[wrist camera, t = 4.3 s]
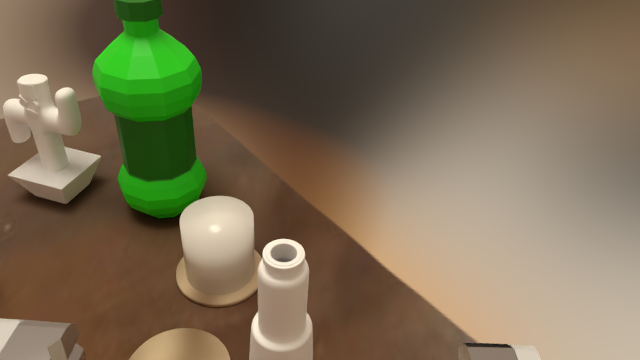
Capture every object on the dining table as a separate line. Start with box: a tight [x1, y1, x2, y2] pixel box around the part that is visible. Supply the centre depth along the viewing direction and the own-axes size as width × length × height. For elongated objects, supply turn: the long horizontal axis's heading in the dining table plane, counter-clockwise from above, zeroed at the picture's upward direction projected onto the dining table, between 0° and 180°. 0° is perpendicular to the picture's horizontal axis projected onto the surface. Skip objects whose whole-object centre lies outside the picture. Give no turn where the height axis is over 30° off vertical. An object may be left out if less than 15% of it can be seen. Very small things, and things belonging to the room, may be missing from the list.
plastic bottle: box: [92, 0, 207, 218], centre depth 57 cm, size 10×10×25 cm
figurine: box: [3, 74, 101, 204], centre depth 61 cm, size 7×9×15 cm
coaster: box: [176, 250, 262, 307], centre depth 56 cm, size 9×9×1 cm
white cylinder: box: [180, 196, 255, 295], centre depth 54 cm, size 7×7×7 cm
